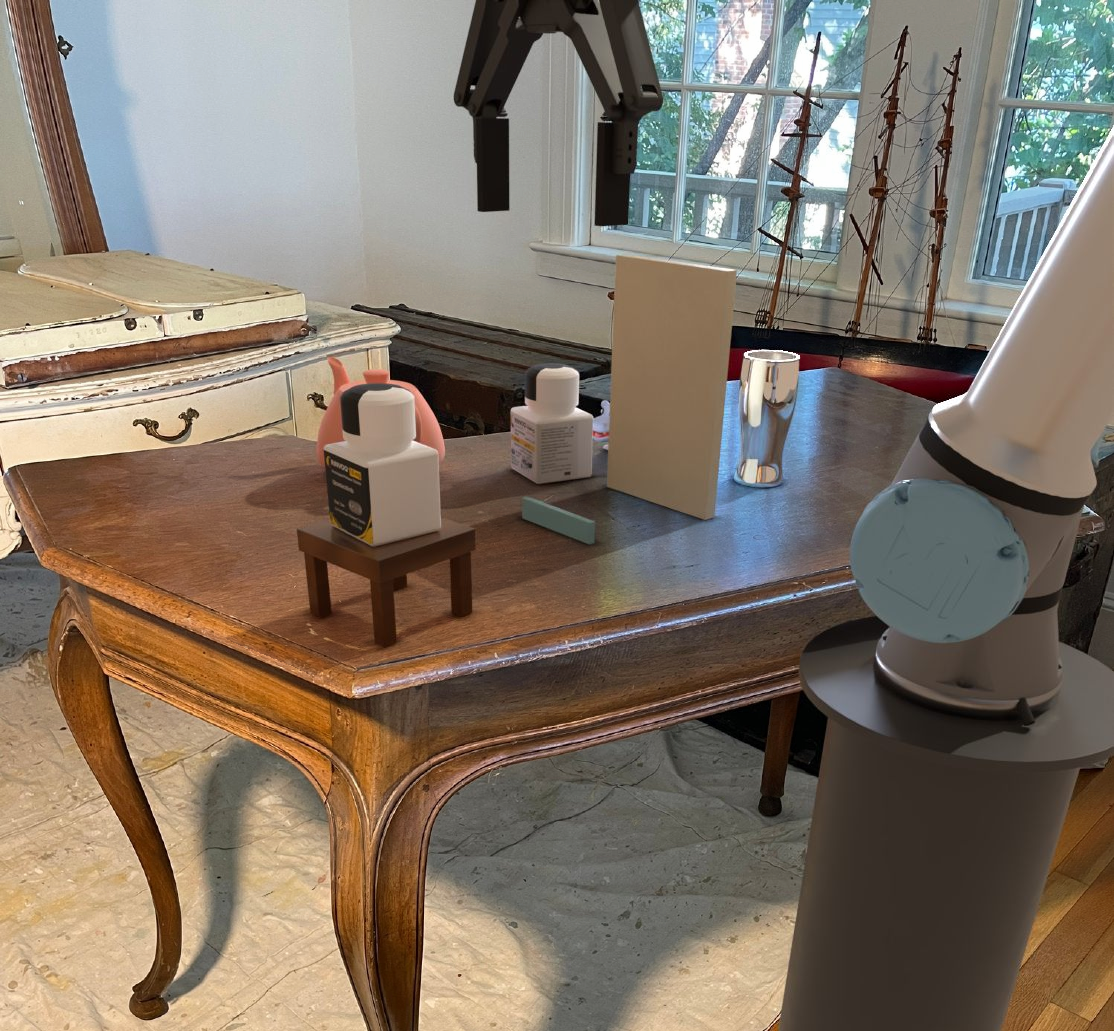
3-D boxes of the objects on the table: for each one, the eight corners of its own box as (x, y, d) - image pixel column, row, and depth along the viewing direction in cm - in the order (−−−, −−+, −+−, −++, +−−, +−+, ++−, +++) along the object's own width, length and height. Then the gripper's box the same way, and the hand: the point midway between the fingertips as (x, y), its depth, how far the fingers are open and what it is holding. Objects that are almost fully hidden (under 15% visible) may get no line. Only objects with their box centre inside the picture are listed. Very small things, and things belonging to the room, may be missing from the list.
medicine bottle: (328, 526, 96) (316, 385, 90) (397, 510, 100) (390, 374, 94) (372, 548, 92) (361, 401, 86) (442, 531, 96) (437, 389, 90)
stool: (477, 612, 100) (475, 528, 96) (384, 650, 93) (378, 560, 89) (398, 581, 107) (393, 500, 103) (305, 613, 100) (296, 528, 96)
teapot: (284, 460, 141) (273, 360, 135) (391, 443, 149) (386, 347, 143) (363, 506, 126) (355, 395, 120) (478, 484, 134) (476, 378, 128)
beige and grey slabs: (714, 517, 125) (737, 270, 112) (605, 551, 115) (616, 283, 102) (615, 484, 135) (626, 254, 122) (507, 512, 125) (506, 265, 112)
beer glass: (755, 469, 142) (768, 347, 134) (797, 482, 137) (813, 356, 130) (718, 479, 138) (729, 354, 130) (761, 492, 133) (775, 363, 126)
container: (510, 468, 140) (509, 362, 134) (563, 461, 143) (565, 357, 137) (537, 485, 134) (537, 375, 128) (592, 477, 137) (596, 369, 131)
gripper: (733, -150, 68) (704, 229, 78) (481, -106, 84) (486, 204, 94) (648, -169, 63) (630, 235, 74) (399, -119, 79) (414, 207, 90)
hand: (549, 218), depth 84 cm, fingers open, 13 cm apart
